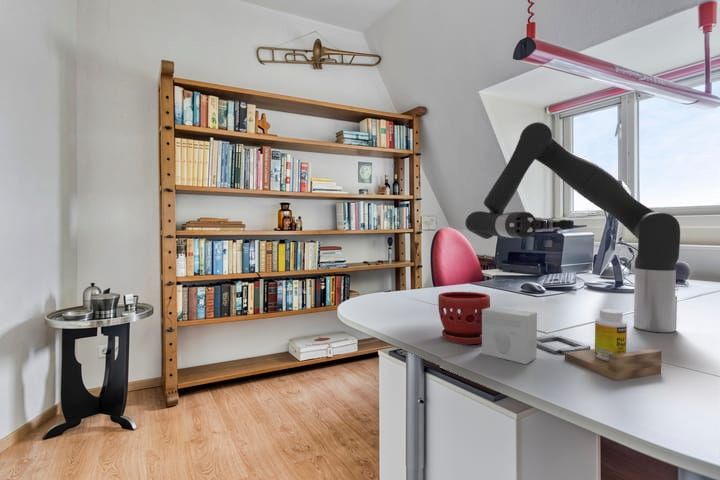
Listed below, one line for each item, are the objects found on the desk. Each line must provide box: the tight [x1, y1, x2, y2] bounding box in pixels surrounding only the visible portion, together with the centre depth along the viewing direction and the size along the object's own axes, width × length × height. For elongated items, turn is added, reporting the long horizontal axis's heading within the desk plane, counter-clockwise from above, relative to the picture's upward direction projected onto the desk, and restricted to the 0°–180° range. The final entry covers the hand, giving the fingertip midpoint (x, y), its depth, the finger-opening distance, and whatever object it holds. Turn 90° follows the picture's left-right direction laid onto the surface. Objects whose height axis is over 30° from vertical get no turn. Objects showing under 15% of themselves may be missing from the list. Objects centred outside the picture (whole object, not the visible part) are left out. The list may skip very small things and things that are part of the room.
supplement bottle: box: [594, 308, 628, 361], centre depth 79 cm, size 6×6×10 cm
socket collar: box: [537, 335, 591, 355], centre depth 92 cm, size 10×10×1 cm
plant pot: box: [437, 291, 491, 345], centre depth 98 cm, size 13×13×12 cm
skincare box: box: [481, 306, 538, 365], centre depth 86 cm, size 10×6×10 cm, turn 45°
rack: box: [564, 348, 662, 381], centre depth 79 cm, size 12×12×4 cm
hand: (559, 224), depth 94 cm, fingers open, 8 cm apart
